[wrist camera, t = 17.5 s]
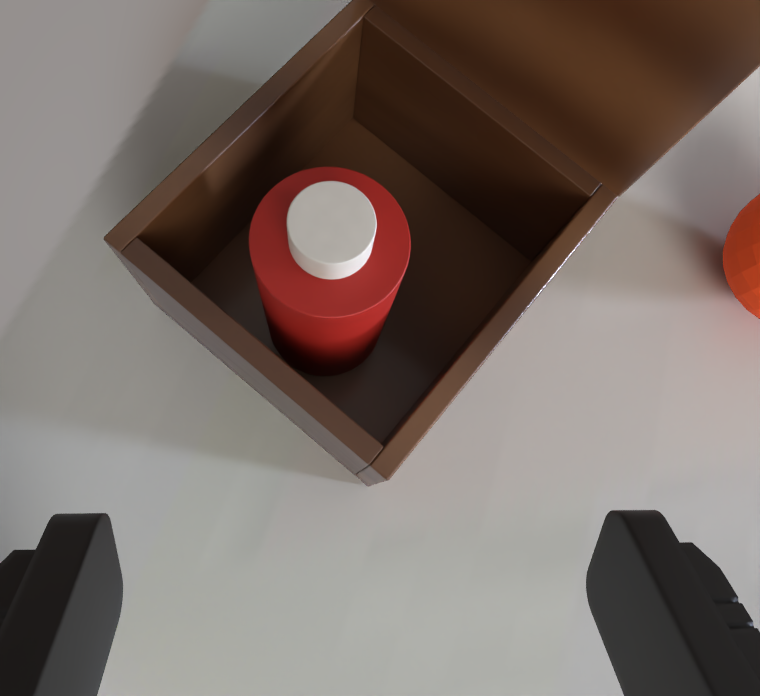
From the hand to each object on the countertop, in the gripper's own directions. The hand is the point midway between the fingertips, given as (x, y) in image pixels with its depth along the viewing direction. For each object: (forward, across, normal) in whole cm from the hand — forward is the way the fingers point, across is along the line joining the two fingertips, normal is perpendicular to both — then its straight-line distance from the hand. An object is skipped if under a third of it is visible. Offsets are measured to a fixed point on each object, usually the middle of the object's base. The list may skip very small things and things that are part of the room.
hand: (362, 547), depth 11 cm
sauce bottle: (+19, 0, +6) cm, 20 cm away
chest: (+21, -1, +6) cm, 21 cm away
